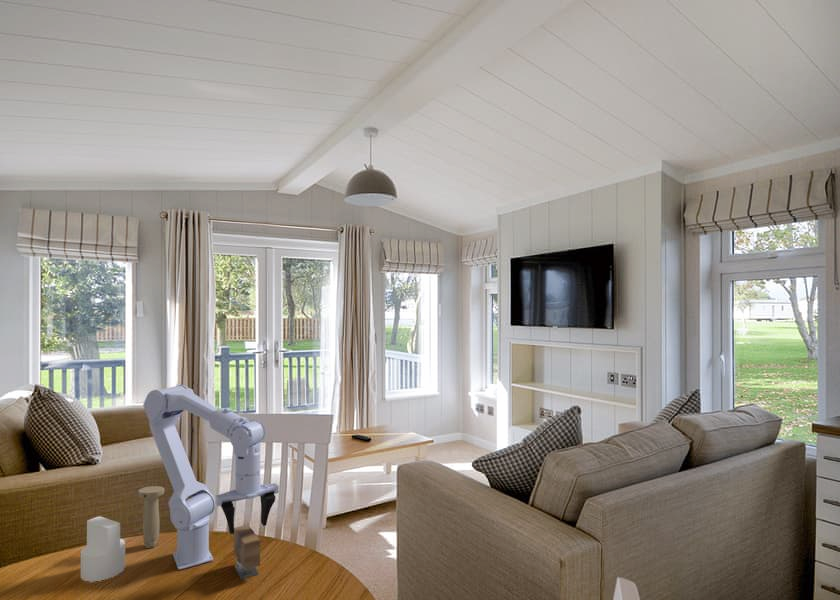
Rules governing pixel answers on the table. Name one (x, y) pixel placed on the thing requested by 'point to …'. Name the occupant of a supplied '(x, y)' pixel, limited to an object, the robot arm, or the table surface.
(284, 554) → the table surface
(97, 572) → the cylinder with rectangular tab
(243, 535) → the rectangular block
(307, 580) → the table surface
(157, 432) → the robot arm
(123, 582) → the table surface
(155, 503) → the handle
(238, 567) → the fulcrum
